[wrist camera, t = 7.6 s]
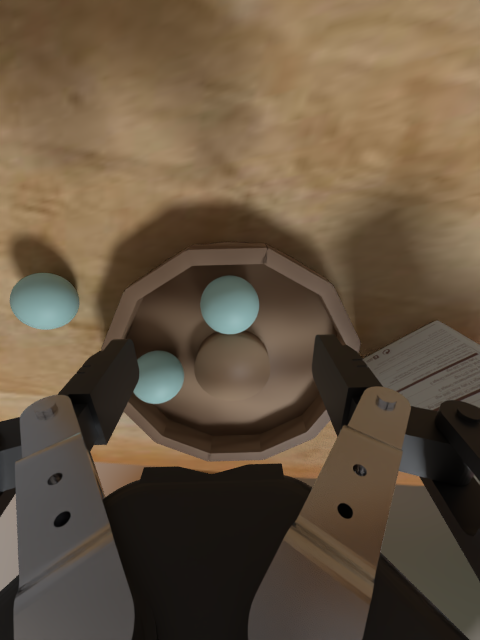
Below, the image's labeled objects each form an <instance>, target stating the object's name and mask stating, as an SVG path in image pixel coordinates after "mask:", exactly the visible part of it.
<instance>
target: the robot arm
mask: <svg viewBox="0 0 480 640" xmlns="http://www.w3.org/2000/svg"><path fill="white" fill-rule="evenodd" d="M312 375H313V379H314V381H315V383H316V386H317V388H318V391H319V393H320V396H321V398H322V400H323V403H324V405H325V408H326V410H327V412H328V415H329V417H330V420H331V422H332V425H333V427H334V429H335V432H336V434H337V439H336V441H335V443H334V445H333V447H332V449H331V451H330V454H329V456H328V458H327V460H326V462H325V464H324V466H323V468H322V470H321V472H320V474H319V476H318V478H317V480H316V482H315V484H314V486H313V488H312V487H310V486H309V485H307V484H306V483H304V482H302V481H300V480H297V479H295V478H292V477H289V476H285V475H283V469H282V464H250V465H244V466H241V467H237V468H234V469H230V470H226V471H223V472H219V473H215V474H208V473H204V472H200V471H195V470H191V469H187V468H182V467H145V468H144V469H143V473H142V476H141V479H140V480H138V481H135V482H132V483H129V484H127V485H125V486H123V487H121V488H119V489H117V490H116V491H114V492H113V493H111V494H109V495H108V496H107V497H105V494H104V491H103V488H102V485H101V482H100V479H99V477H98V473H97V470H96V467H95V464H94V461H93V458H92V455H91V453H90V451H91V449H92V447H93V445H107V443H108V441H109V439H110V437H111V435H112V433H113V431H114V429H115V427H116V425H117V423H118V421H119V419H120V417H121V415H122V413H123V411H124V409H125V407H126V405H127V403H128V401H129V399H130V397H131V395H132V393H133V391H134V389H135V387H136V385H137V383H138V380H139V366H138V361H137V357H136V352H135V348H134V343H133V341H132V340H131V339H113V340H111V341H110V343H109V344H108V345H107V346H106V348H105V349H104V350H103V351H99V352H97V353H96V354H94V355H93V356H91V357H90V358H89V359H88V360H87V361H86V362H85V363H84V364H83V366H82V367H81V368H80V369H79V370H78V371H77V374H75V375H74V376H73V377H72V378H71V379H70V381H69V382H68V383H67V384H66V385H65V386H64V388H63V389H62V390H61V391H60V392H59V393H58V395H53V396H49V397H46V398H43V399H40V400H38V401H36V402H35V403H33V404H31V405H30V406H29V407H27V408H26V409H25V410H24V411H23V413H22V414H21V416H20V417H18V418H14V419H10V420H6V421H1V422H0V516H1V515H2V513H3V512H4V510H5V509H6V507H7V506H8V504H9V502H10V501H11V500H12V498H13V497H14V495H15V494H16V510H17V533H18V560H19V575H18V576H17V577H16V578H15V579H14V580H12V581H11V582H10V583H9V584H8V585H7V586H6V587H5V588H4V589H2V590H1V591H0V640H469V639H468V638H467V637H466V636H465V635H464V634H463V633H462V632H461V631H460V630H459V629H458V628H457V627H456V626H455V625H454V624H453V623H452V622H451V621H450V620H449V619H448V618H447V617H446V616H445V615H444V614H443V613H442V612H441V611H440V610H439V609H438V608H437V607H436V606H435V605H433V603H432V602H431V601H430V600H429V599H427V598H426V597H425V596H424V595H423V594H422V593H421V592H420V591H419V590H418V589H417V588H416V587H415V586H414V585H413V584H412V583H411V582H410V581H409V580H408V579H407V578H406V577H405V576H404V575H403V574H402V573H401V572H400V571H399V570H398V569H397V568H396V567H395V566H394V565H393V564H392V563H391V562H390V561H389V560H387V558H386V557H385V556H384V555H383V554H382V553H381V552H380V551H381V546H382V541H383V538H384V533H385V529H386V524H387V520H388V515H389V511H390V506H391V502H392V498H393V493H394V489H395V484H396V480H397V476H398V471H401V472H405V473H409V474H413V475H417V476H419V477H420V478H421V480H422V482H423V484H424V485H425V487H426V489H427V491H428V492H429V494H430V496H431V497H432V499H433V501H434V503H435V504H436V506H437V508H438V509H439V511H440V513H441V515H442V516H443V518H444V520H445V522H446V524H447V525H448V527H449V529H450V530H451V532H452V534H453V536H454V537H455V539H456V541H457V542H458V544H459V546H460V548H461V550H462V551H463V553H464V555H465V557H466V558H467V560H468V562H469V563H470V565H471V567H472V569H473V570H474V572H475V574H476V576H477V577H478V579H479V581H480V485H479V483H478V482H477V481H476V479H475V478H474V477H473V476H474V475H475V476H476V478H477V479H478V480H479V481H480V408H479V407H477V406H475V405H472V404H469V403H466V402H463V401H458V400H448V401H444V402H443V403H441V405H440V407H439V410H438V411H434V410H429V409H424V408H419V407H414V406H411V405H410V403H409V401H408V400H407V399H406V398H405V397H404V396H403V395H402V394H400V393H398V392H397V391H395V390H392V389H389V388H386V387H383V386H382V384H381V383H380V382H379V380H378V379H377V378H376V376H375V375H374V374H373V372H372V371H371V370H370V368H369V367H367V364H366V363H365V362H364V361H363V359H362V358H361V356H360V355H359V354H358V352H357V351H355V350H354V349H352V348H351V347H349V346H348V345H342V344H341V343H340V341H339V340H338V338H337V337H336V336H335V335H334V334H324V335H316V337H315V342H314V351H313V359H312Z"/></svg>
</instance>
